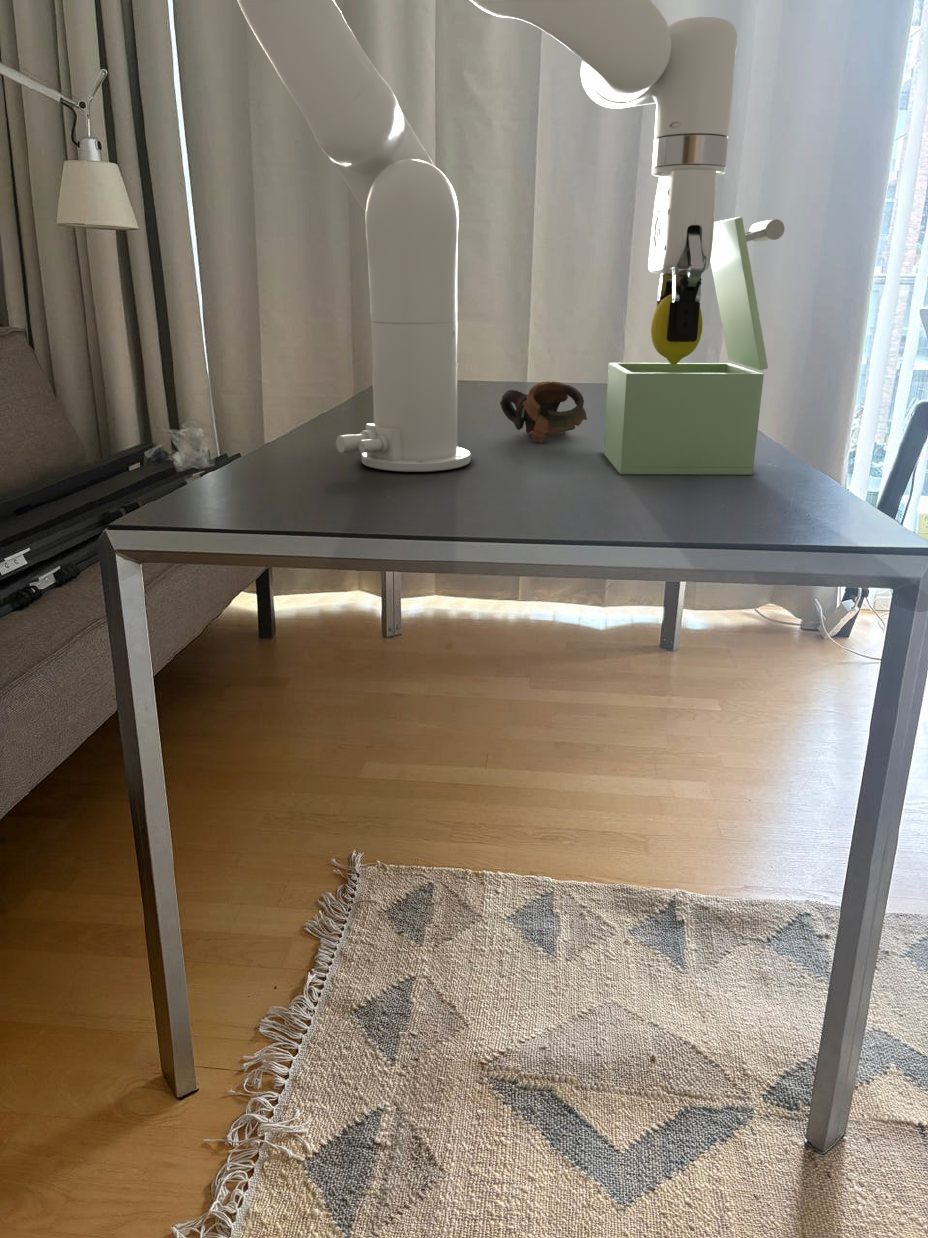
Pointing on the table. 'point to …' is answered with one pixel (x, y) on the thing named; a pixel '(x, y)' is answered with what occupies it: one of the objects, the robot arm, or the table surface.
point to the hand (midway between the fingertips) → (675, 337)
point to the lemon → (659, 334)
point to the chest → (682, 418)
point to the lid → (740, 287)
